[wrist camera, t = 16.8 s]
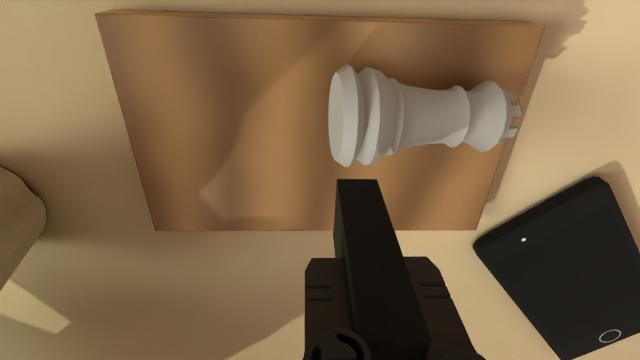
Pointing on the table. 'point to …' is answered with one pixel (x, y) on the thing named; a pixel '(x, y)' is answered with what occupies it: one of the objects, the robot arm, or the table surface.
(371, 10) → the table surface
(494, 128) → the rook chess piece
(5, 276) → the flower pot
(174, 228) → the board
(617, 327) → the cell phone
